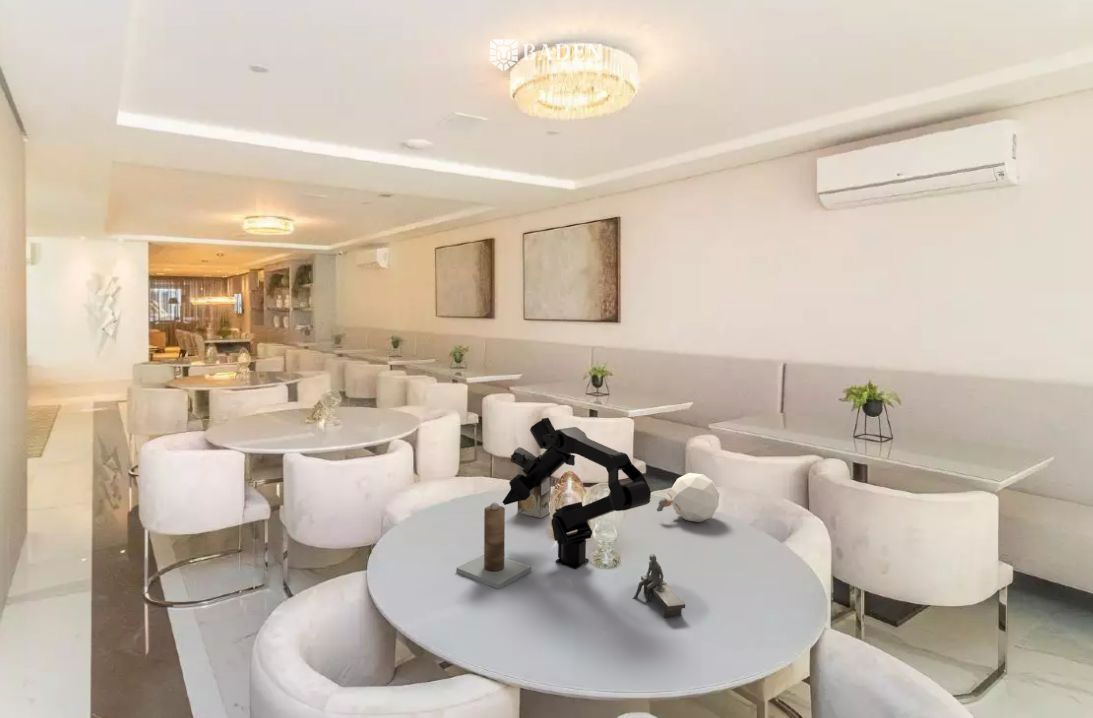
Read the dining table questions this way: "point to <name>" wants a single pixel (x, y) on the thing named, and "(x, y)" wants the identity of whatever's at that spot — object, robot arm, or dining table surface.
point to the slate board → (493, 579)
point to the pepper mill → (494, 537)
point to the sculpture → (660, 590)
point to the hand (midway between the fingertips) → (509, 498)
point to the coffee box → (536, 499)
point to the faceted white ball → (692, 497)
